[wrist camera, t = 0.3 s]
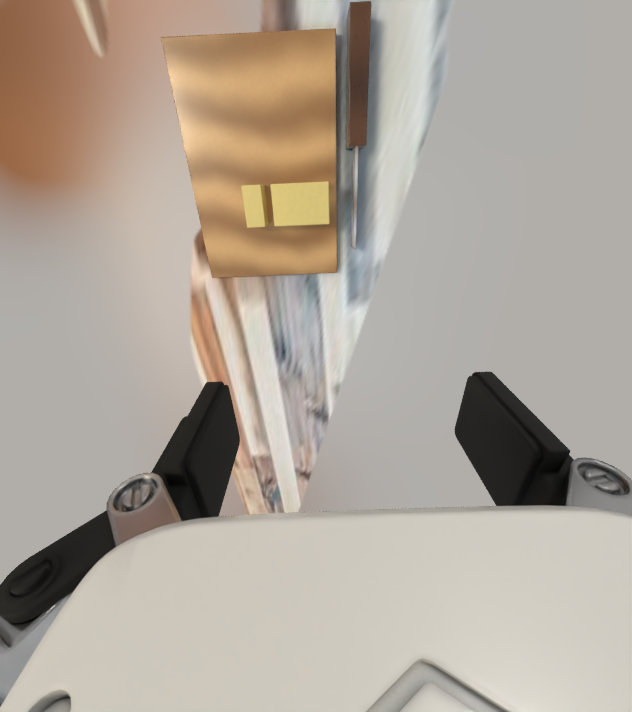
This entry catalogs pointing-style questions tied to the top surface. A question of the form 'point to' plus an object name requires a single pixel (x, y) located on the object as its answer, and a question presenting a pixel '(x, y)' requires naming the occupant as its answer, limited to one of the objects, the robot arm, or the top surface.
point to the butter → (300, 203)
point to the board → (258, 141)
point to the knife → (357, 90)
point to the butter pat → (255, 205)
